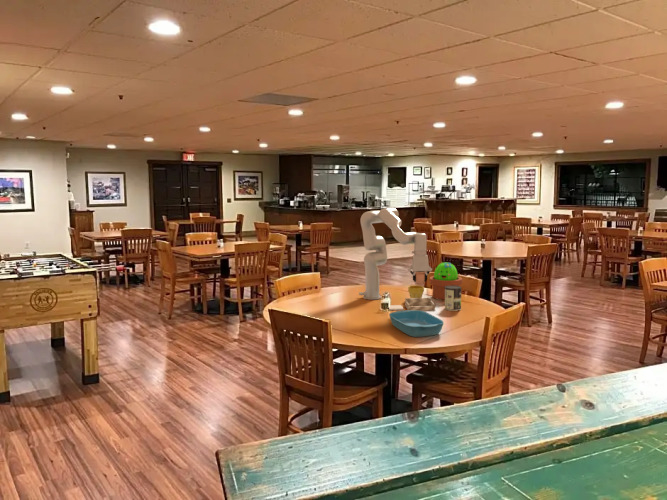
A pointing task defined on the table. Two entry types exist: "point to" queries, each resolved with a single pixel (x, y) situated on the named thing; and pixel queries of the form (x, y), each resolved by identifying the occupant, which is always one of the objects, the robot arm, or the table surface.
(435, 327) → the casserole dish
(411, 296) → the plant pot
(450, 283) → the potted cactus
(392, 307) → the stone tile
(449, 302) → the coffee can
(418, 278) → the terracotta pot
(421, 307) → the frame
